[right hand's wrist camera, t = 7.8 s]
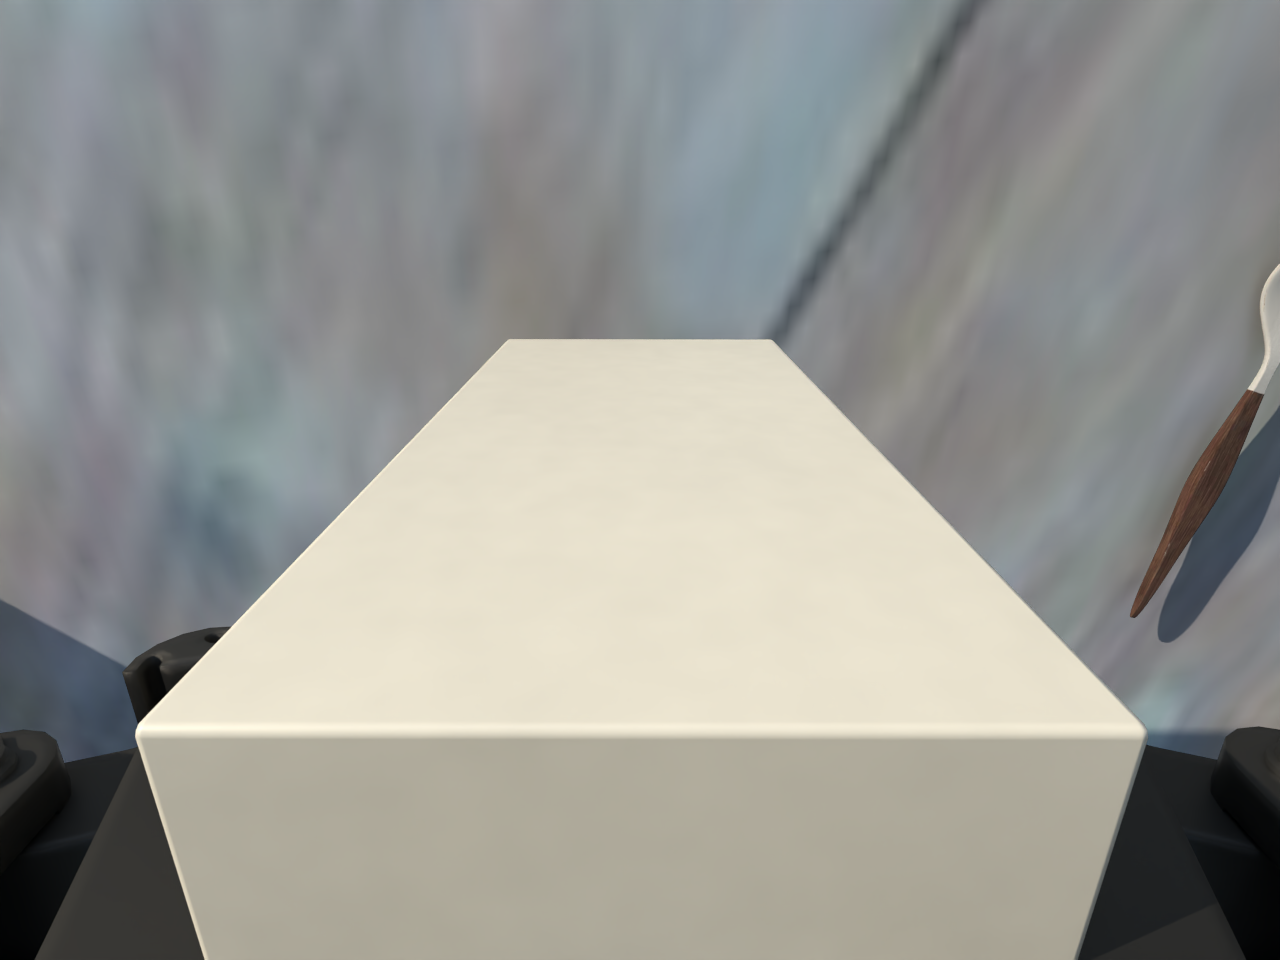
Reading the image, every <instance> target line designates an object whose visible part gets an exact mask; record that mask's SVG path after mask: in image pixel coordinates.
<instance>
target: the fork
mask: <svg viewBox="0 0 1280 960" xmlns="http://www.w3.org/2000/svg"><path fill="white" fill-rule="evenodd" d="M1260 316H1261V324H1262V329H1263V335H1264V342H1265V356H1264V360H1263V364H1262V366H1261V368H1260V370H1259V372H1258V374H1257V375H1256V377H1255V379H1254V380H1253V382H1252V383H1251V385H1250V386H1249V388H1248V389H1247V391H1246V392H1245V393H1244V395H1243V396H1242V398H1241V399H1240V401H1239V402H1238V404H1237V405H1236V406H1235V408H1234V409H1233V411H1232V412H1231V414H1230V415H1229V416H1228V418H1227V419H1226V421H1225V422H1224V424H1223V425H1222V426H1221V428H1220V429H1219V431H1218V432H1217V434H1216V435H1215V436H1214V438H1213V439H1212V441H1211V442H1210V444H1209V445H1208V447H1207V448H1206V450H1205V451H1204V453H1203V454H1202V456H1201V457H1200V459H1199V460H1198V462H1197V464H1196V465H1195V467H1194V468H1193V470H1192V472H1191V474H1190V475H1189V477H1188V479H1187V481H1186V483H1185V485H1184V487H1183V489H1182V491H1181V494H1180V496H1179V498H1178V501H1177V503H1176V506H1175V508H1174V511H1173V513H1172V516H1171V518H1170V520H1169V523H1168V525H1167V528H1166V530H1165V533H1164V535H1163V538H1162V540H1161V542H1160V545H1159V547H1158V549H1157V551H1156V553H1155V556H1154V558H1153V560H1152V562H1151V564H1150V566H1149V568H1148V571H1147V573H1146V575H1145V577H1144V579H1143V582H1142V584H1141V586H1140V589H1139V591H1138V593H1137V596H1136V598H1135V601H1134V604H1133V606H1132V609H1131V613H1130V617H1133V618H1135V617H1137V616H1138V614H1139V613H1140V612H1141V611H1142V610H1143V609H1144V607H1145V606H1146V605H1147V603H1148V602H1149V600H1150V599H1151V598H1152V596H1153V595H1154V593H1155V592H1156V590H1157V589H1158V588H1159V586H1160V585H1161V583H1162V582H1163V580H1164V579H1165V577H1166V576H1167V574H1168V572H1169V571H1170V569H1171V568H1172V566H1173V565H1174V563H1175V562H1176V560H1177V559H1178V557H1179V556H1180V554H1181V553H1182V551H1183V550H1184V548H1185V547H1186V545H1187V544H1188V542H1189V541H1190V539H1191V538H1192V536H1193V535H1194V533H1195V532H1196V531H1197V529H1198V528H1199V526H1200V525H1201V523H1202V522H1203V520H1204V519H1205V517H1206V516H1207V514H1208V513H1209V511H1210V510H1211V508H1212V507H1213V505H1214V504H1215V502H1216V501H1217V499H1218V497H1219V496H1220V494H1221V492H1222V490H1223V488H1224V487H1225V485H1226V483H1227V481H1228V478H1229V476H1230V474H1231V472H1232V470H1233V468H1234V465H1235V463H1236V461H1237V459H1238V456H1239V454H1240V451H1241V449H1242V447H1243V444H1244V442H1245V439H1246V437H1247V435H1248V432H1249V430H1250V427H1251V425H1252V422H1253V420H1254V418H1255V415H1256V413H1257V410H1258V408H1259V405H1260V403H1261V401H1262V398H1263V396H1264V394H1265V391H1266V389H1267V387H1268V385H1269V383H1270V380H1271V378H1272V376H1273V374H1274V372H1275V370H1276V369H1277V367H1278V365H1279V364H1280V264H1279V265H1278V266H1277V267H1276V268H1275V270H1274V271H1273V272H1272V274H1271V275H1270V276H1269V278H1268V279H1267V281H1266V283H1265V285H1264V288H1263V290H1262V294H1261V300H1260Z"/></svg>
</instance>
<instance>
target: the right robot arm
mask: <svg viewBox="0 0 1280 960" xmlns="http://www.w3.org/2000/svg"><path fill="white" fill-rule="evenodd" d="M230 628H231V627H217V628H207V629H203V630H199V631H194V632H190V633H186V634H182V635H180V636H177V637H175V638H172V639H170V640H167V641H165V642H162V643H160V644H157V645H156V646H154V647H152V648H151V649H149V650H148V651H146V652H144V653H143V654H141V655H140V656H138V657H136V658H135V659H134V660H133V661H132V663H131V664H130V665H129V666H128V667H127V668H126V669H125V670H124V671H123V672H122V673H123V676H124V680H125V683H126V686H127V689H128V693H129V696H130V699H131V702H132V705H133V709H134V712H135V715H136V718H137V722H138V724H139V723H140V722H141V721H142V720H143V719H144V718H145V716H146V715H147V714H148V713H149V712H150V711H151V710H152V709H153V708H154V707H155V706H156V705H157V704H158V703H159V702H160V701H161V700H162V699H163V698H164V697H165V696H166V695H167V694H168V693H169V692H170V691H171V689H172V688H173V687H174V686H175V685H176V684H177V683H178V682H179V681H180V680H181V679H182V678H183V677H184V676H185V675H186V674H187V673H188V672H189V671H190V670H191V669H192V668H193V667H194V666H195V665H196V663H197V662H198V661H199V660H200V659H201V658H202V657H203V656H204V655H205V654H206V653H207V652H208V651H209V650H210V649H211V648H212V647H213V646H214V645H215V644H216V643H217V642H218V641H219V640H220V639H221V638H222V636H223V635H224V634H225V633H226V632H227V631H228V630H229V629H230ZM0 960H205V959H204V956H203V952H202V949H201V946H200V943H199V940H198V936H197V933H196V930H195V927H194V924H193V920H192V917H191V914H190V911H189V908H188V904H187V901H186V898H185V895H184V892H183V888H182V885H181V882H180V879H179V876H178V872H177V869H176V866H175V863H174V860H173V856H172V853H171V850H170V847H169V843H168V840H167V837H166V834H165V831H164V827H163V824H162V821H161V818H160V815H159V811H158V808H157V805H156V802H155V799H154V795H153V792H152V789H151V786H150V783H149V779H148V776H147V773H146V770H145V767H144V763H143V760H142V757H141V754H140V751H139V747H136V748H133V749H129V750H125V751H120V752H115V753H110V754H105V755H101V756H96V757H91V758H86V759H81V760H77V761H72V762H67V763H64V761H63V758H62V755H61V752H60V750H59V747H58V744H57V741H56V740H55V739H54V738H52V737H51V736H49V735H48V734H47V733H45V732H40V731H30V730H19V731H12V732H5V733H0ZM1078 960H1280V730H1278V729H1271V728H1265V727H1250V728H1240V729H1236V730H1235V731H1234V732H1232V733H1231V734H1229V735H1228V736H1227V737H1226V738H1225V741H1224V743H1223V746H1222V749H1221V752H1220V754H1219V757H1218V760H1215V759H1210V758H1205V757H1200V756H1195V755H1191V754H1186V753H1181V752H1176V751H1171V750H1166V749H1162V748H1157V747H1153V746H1149V745H1146V746H1145V749H1144V753H1143V756H1142V759H1141V762H1140V765H1139V768H1138V771H1137V775H1136V778H1135V781H1134V784H1133V787H1132V790H1131V793H1130V797H1129V800H1128V803H1127V806H1126V809H1125V812H1124V815H1123V819H1122V822H1121V825H1120V828H1119V831H1118V834H1117V837H1116V841H1115V844H1114V847H1113V850H1112V853H1111V856H1110V859H1109V863H1108V866H1107V869H1106V872H1105V875H1104V878H1103V881H1102V885H1101V888H1100V891H1099V894H1098V897H1097V900H1096V903H1095V907H1094V910H1093V913H1092V916H1091V919H1090V922H1089V925H1088V929H1087V932H1086V935H1085V938H1084V941H1083V944H1082V947H1081V951H1080V954H1079V957H1078Z"/></svg>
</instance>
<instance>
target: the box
mask: <svg viewBox="0 0 1280 960" xmlns="http://www.w3.org/2000/svg"><path fill="white" fill-rule="evenodd" d="M135 738H136V741H137V744H138V747H139V751H140V754H141V757H142V760H143V763H144V767H145V770H146V773H147V776H148V779H149V783H150V786H151V789H152V792H153V795H154V799H155V802H156V805H157V808H158V811H159V815H160V818H161V821H162V824H163V827H164V831H165V834H166V837H167V840H168V843H169V847H170V850H171V853H172V856H173V860H174V863H175V866H176V869H177V872H178V876H179V879H180V882H181V885H182V888H183V892H184V895H185V898H186V901H187V904H188V908H189V911H190V914H191V917H192V920H193V924H194V927H195V930H196V933H197V936H198V940H199V943H200V946H201V949H202V952H203V956H204V959H205V960H1078V957H1079V954H1080V951H1081V947H1082V944H1083V941H1084V938H1085V935H1086V932H1087V929H1088V925H1089V922H1090V919H1091V916H1092V913H1093V910H1094V907H1095V903H1096V900H1097V897H1098V894H1099V891H1100V888H1101V885H1102V881H1103V878H1104V875H1105V872H1106V869H1107V866H1108V863H1109V859H1110V856H1111V853H1112V850H1113V847H1114V844H1115V841H1116V837H1117V834H1118V831H1119V828H1120V825H1121V822H1122V819H1123V815H1124V812H1125V809H1126V806H1127V803H1128V800H1129V797H1130V793H1131V790H1132V787H1133V784H1134V781H1135V778H1136V775H1137V771H1138V768H1139V765H1140V762H1141V759H1142V756H1143V753H1144V749H1145V746H1146V743H1147V740H1148V732H1147V729H1146V727H1145V724H1144V723H1143V722H1142V721H1141V720H1140V719H1139V718H1138V717H1137V716H1136V715H1135V714H1134V713H1133V712H1132V711H1131V710H1130V709H1129V708H1128V707H1127V706H1126V705H1125V704H1124V703H1123V702H1122V701H1121V700H1120V699H1119V698H1118V697H1117V695H1116V694H1115V693H1114V692H1113V691H1112V690H1111V689H1110V688H1109V687H1108V686H1107V685H1106V684H1105V683H1104V682H1103V681H1102V680H1101V679H1100V678H1099V677H1098V676H1097V675H1096V674H1095V673H1094V672H1093V671H1092V670H1091V669H1090V668H1089V667H1088V666H1087V665H1086V663H1085V662H1084V661H1083V660H1082V659H1081V658H1080V657H1079V656H1078V655H1077V654H1076V653H1075V652H1074V651H1073V650H1072V649H1071V648H1070V647H1069V646H1068V645H1067V644H1066V643H1065V642H1064V641H1063V640H1062V639H1061V638H1060V637H1059V636H1058V635H1057V634H1056V632H1055V631H1054V630H1053V629H1052V628H1051V627H1050V626H1049V625H1048V624H1047V623H1046V622H1045V621H1044V620H1043V619H1042V618H1041V617H1040V616H1039V615H1038V614H1037V613H1036V612H1035V611H1034V610H1033V609H1032V608H1031V607H1030V606H1029V605H1028V604H1027V603H1026V601H1025V600H1024V599H1023V598H1022V597H1021V596H1020V595H1019V594H1018V593H1017V592H1016V591H1015V590H1014V589H1013V588H1012V587H1011V586H1010V585H1009V584H1008V583H1007V582H1006V581H1005V580H1004V579H1003V578H1002V577H1001V576H1000V575H999V574H998V573H997V572H996V571H995V569H994V568H993V567H992V566H991V565H990V564H989V563H988V562H987V561H986V560H985V559H984V558H983V557H982V556H981V555H980V554H979V553H978V552H977V551H976V550H975V549H974V548H973V547H972V546H971V545H970V544H969V543H968V542H967V541H966V540H965V538H964V537H963V536H962V535H961V534H960V533H959V532H958V531H957V530H956V529H955V528H954V527H953V526H952V525H951V524H950V523H949V522H948V521H947V520H946V519H945V518H944V517H943V516H942V515H941V514H940V513H939V512H938V511H937V510H936V509H935V507H934V506H933V505H932V504H931V503H930V502H929V501H928V500H927V499H926V498H925V497H924V496H923V495H922V494H921V493H920V492H919V491H918V490H917V489H916V488H915V487H914V486H913V485H912V484H911V483H910V482H909V481H908V480H907V479H906V478H905V477H904V475H903V474H902V473H901V472H900V471H899V470H898V469H897V468H896V467H895V466H894V465H893V464H892V463H891V462H890V461H889V460H888V459H887V458H886V457H885V456H884V455H883V454H882V453H881V452H880V451H879V450H878V449H877V448H876V447H875V446H874V444H873V443H872V442H871V441H870V440H869V439H868V438H867V437H866V436H865V435H864V434H863V433H862V432H861V431H860V430H859V429H858V428H857V427H856V426H855V425H854V424H853V423H852V422H851V421H850V420H849V419H848V418H847V417H846V416H845V415H844V413H843V412H842V411H841V410H840V409H839V408H838V407H837V406H836V405H835V404H834V403H833V402H832V401H831V400H830V399H829V398H828V397H827V396H826V395H825V394H824V393H823V392H822V391H821V390H820V389H819V388H818V387H817V386H816V385H815V384H814V383H813V381H812V380H811V379H810V378H809V377H808V376H807V375H806V374H805V373H804V372H803V371H802V370H801V369H800V368H799V367H798V366H797V365H796V364H795V363H794V362H793V361H792V360H791V359H790V358H789V357H788V356H787V355H786V354H785V353H784V352H783V350H782V349H781V348H780V347H779V346H778V345H777V344H776V343H775V342H774V341H773V340H638V339H509V340H507V341H506V342H505V344H504V345H503V346H502V347H501V348H500V349H499V350H498V351H497V352H496V353H495V354H494V355H493V356H492V357H491V358H490V359H489V360H488V361H487V362H486V363H485V364H484V365H483V366H482V367H481V368H480V369H479V371H478V372H477V373H476V374H475V375H474V376H473V377H472V378H471V379H470V380H469V381H468V382H467V383H466V384H465V385H464V386H463V387H462V388H461V389H460V390H459V391H458V392H457V393H456V394H455V395H454V397H453V398H452V399H451V400H450V401H449V402H448V403H447V404H446V405H445V406H444V407H443V408H442V409H441V410H440V411H439V412H438V413H437V414H436V415H435V416H434V417H433V418H432V419H431V420H430V421H429V422H428V424H427V425H426V426H425V427H424V428H423V429H422V430H421V431H420V432H419V433H418V434H417V435H416V436H415V437H414V438H413V439H412V440H411V441H410V442H409V443H408V444H407V445H406V446H405V447H404V448H403V449H402V451H401V452H400V453H399V454H398V455H397V456H396V457H395V458H394V459H393V460H392V461H391V462H390V463H389V464H388V465H387V466H386V467H385V468H384V469H383V470H382V471H381V472H380V473H379V474H378V475H377V476H376V478H375V479H374V480H373V481H372V482H371V483H370V484H369V485H368V486H367V487H366V488H365V489H364V490H363V491H362V492H361V493H360V494H359V495H358V496H357V497H356V498H355V499H354V500H353V501H352V502H351V504H350V505H349V506H348V507H347V508H346V509H345V510H344V511H343V512H342V513H341V514H340V515H339V516H338V517H337V518H336V519H335V520H334V521H333V522H332V523H331V524H330V525H329V526H328V527H327V528H326V529H325V531H324V532H323V533H322V534H321V535H320V536H319V537H318V538H317V539H316V540H315V541H314V542H313V543H312V544H311V545H310V546H309V547H308V548H307V549H306V550H305V551H304V552H303V553H302V554H301V555H300V556H299V558H298V559H297V560H296V561H295V562H294V563H293V564H292V565H291V566H290V567H289V568H288V569H287V570H286V571H285V572H284V573H283V574H282V575H281V576H280V577H279V578H278V579H277V580H276V581H275V582H274V584H273V585H272V586H271V587H270V588H269V589H268V590H267V591H266V592H265V593H264V594H263V595H262V596H261V597H260V598H259V599H258V600H257V601H256V602H255V603H254V604H253V605H252V606H251V607H250V608H249V609H248V611H247V612H246V613H245V614H244V615H243V616H242V617H241V618H240V619H239V620H238V621H237V622H236V623H235V624H234V625H233V626H232V627H231V628H230V629H229V630H228V631H227V632H226V633H225V634H224V635H223V636H222V638H221V639H220V640H219V641H218V642H217V643H216V644H215V645H214V646H213V647H212V648H211V649H210V650H209V651H208V652H207V653H206V654H205V655H204V656H203V657H202V658H201V659H200V660H199V661H198V662H197V663H196V665H195V666H194V667H193V668H192V669H191V670H190V671H189V672H188V673H187V674H186V675H185V676H184V677H183V678H182V679H181V680H180V681H179V682H178V683H177V684H176V685H175V686H174V687H173V688H172V689H171V691H170V692H169V693H168V694H167V695H166V696H165V697H164V698H163V699H162V700H161V701H160V702H159V703H158V704H157V705H156V706H155V707H154V708H153V709H152V710H151V711H150V712H149V713H148V714H147V715H146V716H145V718H144V719H143V720H142V721H141V722H140V723H139V724H138V726H137V729H136V734H135Z"/></svg>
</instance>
